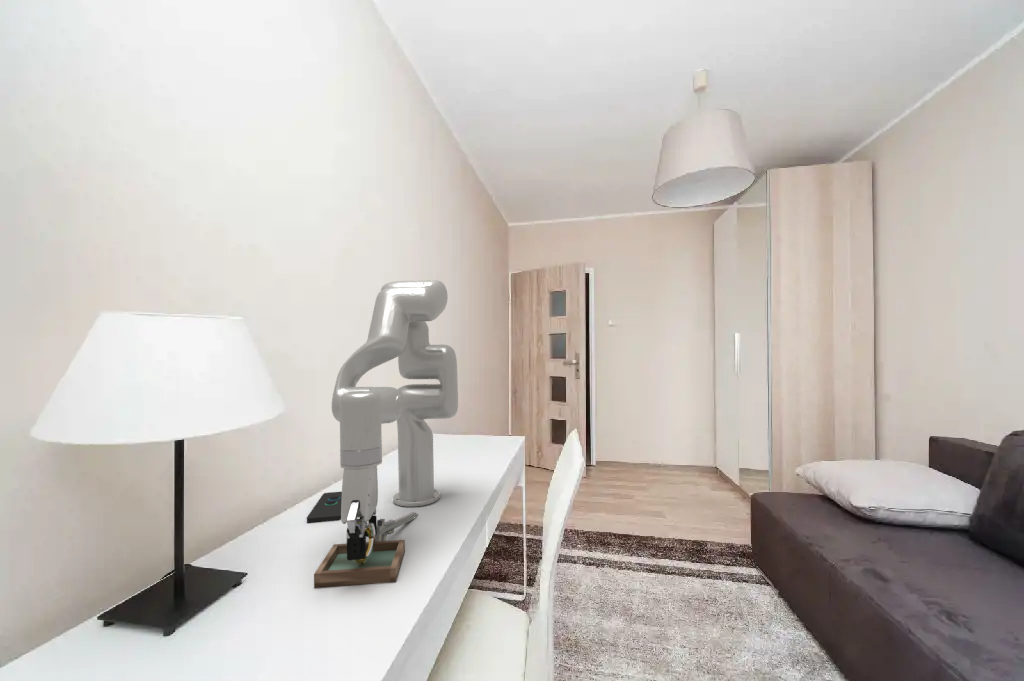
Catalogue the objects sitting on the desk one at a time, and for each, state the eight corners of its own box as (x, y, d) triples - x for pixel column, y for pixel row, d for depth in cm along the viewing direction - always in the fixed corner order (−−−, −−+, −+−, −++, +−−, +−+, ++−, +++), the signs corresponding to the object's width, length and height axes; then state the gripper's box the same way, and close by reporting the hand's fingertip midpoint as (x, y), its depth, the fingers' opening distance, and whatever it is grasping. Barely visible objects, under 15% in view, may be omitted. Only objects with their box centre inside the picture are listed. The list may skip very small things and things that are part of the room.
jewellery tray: (334, 556, 90) (333, 544, 90) (405, 551, 91) (404, 539, 91) (314, 588, 78) (313, 574, 78) (396, 581, 79) (395, 568, 79)
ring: (359, 572, 81) (358, 528, 81) (344, 570, 82) (343, 526, 82) (381, 555, 88) (380, 514, 88) (367, 553, 89) (366, 513, 89)
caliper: (379, 554, 91) (379, 522, 91) (374, 553, 91) (374, 522, 91) (418, 516, 111) (417, 490, 111) (414, 515, 112) (413, 490, 112)
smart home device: (353, 489, 129) (341, 514, 109) (354, 496, 129) (341, 522, 109) (323, 492, 127) (305, 518, 107) (323, 498, 127) (305, 525, 107)
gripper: (352, 447, 93) (353, 530, 93) (327, 469, 76) (328, 571, 76) (389, 445, 94) (390, 527, 94) (372, 467, 77) (373, 567, 76)
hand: (362, 547), depth 85 cm, fingers open, 9 cm apart
